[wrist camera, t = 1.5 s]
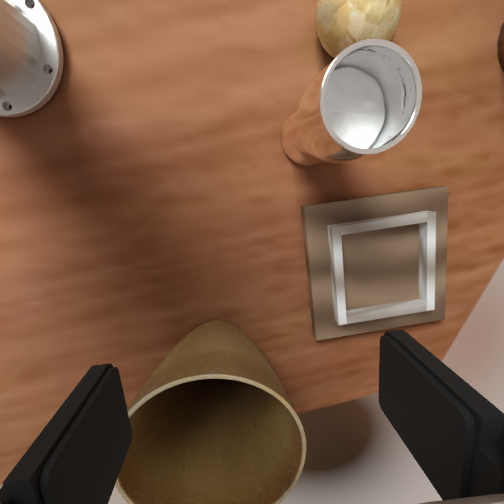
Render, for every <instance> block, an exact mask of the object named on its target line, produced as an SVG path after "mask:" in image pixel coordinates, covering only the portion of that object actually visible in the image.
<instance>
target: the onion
mask: <svg viewBox="0 0 504 504" xmlns="http://www.w3.org/2000/svg"><path fill="white" fill-rule="evenodd" d="M401 11H402V0H318V3H317V8H316V30H317V34H318V37H319V39H320V42H321V44H322V46H323V48H324V49H325V50H326V52H327V53H328V54H329V55H331V56H332V57H333V58H335V57H336V56H337V55H338V54H339V53H340V52H342V51H343V50H344V49H345V48H347V47H348V46H350V45H352V44H354V43H356V42H358V41H361V40H365V39H384V40H388V41H391V39H392V37H393V36H394V34H395V31H396V29H397V27H398V24H399V20H400V16H401Z"/></svg>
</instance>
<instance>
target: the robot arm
mask: <svg viewBox="0 0 504 504" xmlns="http://www.w3.org/2000/svg"><path fill="white" fill-rule="evenodd" d="M52 71H53V72H52ZM62 71H63V49H62V43H61V38H60V35H59V33H58V30H57V27H56V25H55V23H54V21H53V19H52V17H51V15H50V13H49V12H48V11H47V9H46V8H45V7H44V5H43V4H42V3H41V1H40V0H0V117H7V118H8V117H20V116H23V115H27V114H30V113H32V112H34V111H36V110H38V109H40V108H41V107H42V106H43V105H44V104H46V103H47V102H48V101H49V100H50V99H51V97H52V96H53V94H54V93H55V91H56V90H57V87H58V85H59V83H60V80H61V76H62ZM51 72H52V73H51ZM379 403H380V406H381V409H382V411H383V412H384V414H385V415H386V417H387V418H388V420H389V421H390V422H391V424H392V426H393V427H394V429H395V430H396V431H397V433H398V434H399V436H400V437H401V439H402V440H403V442H404V443H405V445H406V446H407V448H408V449H409V451H410V452H411V454H412V455H413V457H414V458H415V460H416V461H417V462H418V464H419V466H420V467H421V468H422V470H423V471H424V473H425V474H426V476H427V477H428V479H429V480H430V482H431V483H432V485H433V486H434V488H435V489H436V490H437V492H438V494H439V495H440V497H441V498H442V501H435V502H427V503H421V504H504V414H503V413H502V412H501V411H500V410H499V409H498V408H496V407H495V406H494V405H493V404H492V403H490V402H489V401H488V400H487V399H486V398H484V397H483V396H482V395H481V394H479V393H478V392H477V391H476V390H475V389H474V388H472V387H471V386H470V385H469V384H468V383H466V382H465V381H464V380H463V379H462V378H460V377H459V376H458V375H457V374H456V373H454V372H453V371H452V370H451V369H450V368H448V367H447V366H446V365H445V364H444V363H442V362H441V361H440V360H439V359H438V358H437V357H435V356H434V355H433V354H432V353H431V352H429V351H428V350H427V349H426V348H425V347H423V346H422V345H421V344H420V343H419V342H417V341H416V340H415V339H414V338H413V337H411V336H410V335H409V334H408V333H407V332H405V331H404V330H393V331H386V332H385V334H384V336H381V338H380V364H379ZM131 440H132V429H131V425H130V420H129V416H128V411H127V406H126V402H125V397H124V393H123V388H122V384H121V379H120V375H119V370H118V368H116V367H114V368H113V365H112V364H102V365H94V366H92V367H91V368H90V369H89V370H88V372H87V373H86V374H85V376H84V377H83V378H82V379H81V381H80V382H79V383H78V385H77V386H76V387H75V389H74V390H73V391H72V393H71V394H70V395H69V397H68V398H67V399H66V400H65V402H64V403H63V404H62V406H61V407H60V408H59V410H58V411H57V412H56V414H55V415H54V416H53V417H52V419H51V420H50V421H49V423H48V424H47V425H46V427H45V428H44V429H43V431H42V432H41V433H40V435H39V436H38V437H37V438H36V440H35V441H34V442H33V444H32V445H31V446H30V448H29V449H28V450H27V452H26V453H25V454H24V456H23V457H22V458H21V459H20V461H19V462H18V463H17V465H16V466H15V467H14V469H13V470H12V471H11V473H10V474H9V475H8V476H7V478H6V479H5V480H4V482H3V486H2V488H1V489H0V504H108V502H109V499H110V496H111V494H112V491H113V489H114V486H115V483H116V481H117V478H118V476H119V473H120V470H121V468H122V465H123V463H124V460H125V457H126V455H127V452H128V449H129V447H130V444H131Z"/></svg>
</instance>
